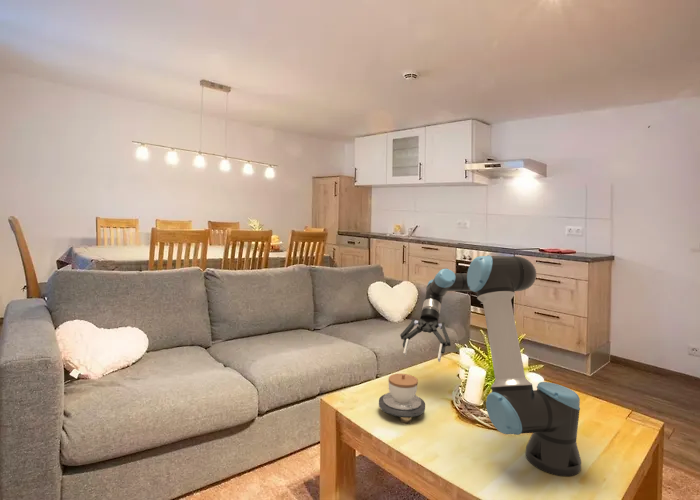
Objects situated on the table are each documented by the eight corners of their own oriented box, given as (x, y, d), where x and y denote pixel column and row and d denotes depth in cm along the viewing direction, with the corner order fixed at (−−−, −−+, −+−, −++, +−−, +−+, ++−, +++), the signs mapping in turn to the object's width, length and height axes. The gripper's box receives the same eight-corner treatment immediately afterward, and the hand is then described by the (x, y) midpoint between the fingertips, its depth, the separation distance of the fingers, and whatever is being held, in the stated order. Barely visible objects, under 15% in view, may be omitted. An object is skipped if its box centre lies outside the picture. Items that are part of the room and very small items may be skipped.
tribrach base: (429, 407, 160) (429, 395, 159) (418, 428, 144) (419, 414, 143) (386, 398, 166) (387, 386, 166) (372, 417, 150) (372, 404, 150)
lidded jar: (421, 398, 156) (422, 373, 155) (409, 408, 147) (410, 383, 146) (395, 390, 162) (396, 367, 161) (382, 400, 153) (383, 375, 152)
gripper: (461, 320, 176) (454, 366, 163) (403, 313, 185) (392, 357, 172) (460, 310, 170) (453, 357, 158) (400, 304, 180) (389, 348, 167)
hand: (421, 357), depth 165 cm, fingers open, 13 cm apart
